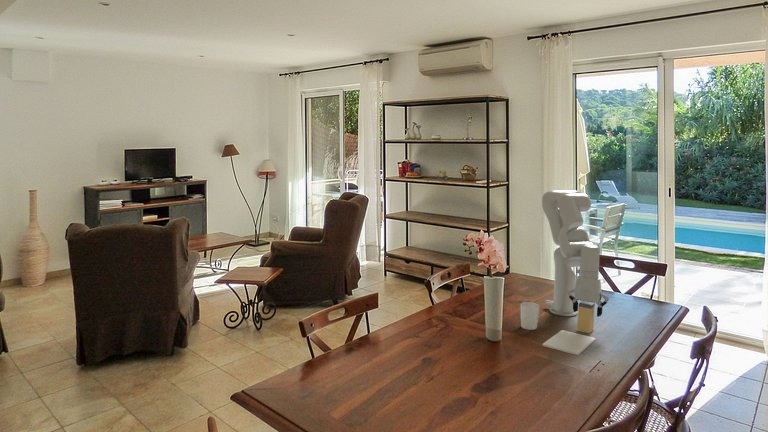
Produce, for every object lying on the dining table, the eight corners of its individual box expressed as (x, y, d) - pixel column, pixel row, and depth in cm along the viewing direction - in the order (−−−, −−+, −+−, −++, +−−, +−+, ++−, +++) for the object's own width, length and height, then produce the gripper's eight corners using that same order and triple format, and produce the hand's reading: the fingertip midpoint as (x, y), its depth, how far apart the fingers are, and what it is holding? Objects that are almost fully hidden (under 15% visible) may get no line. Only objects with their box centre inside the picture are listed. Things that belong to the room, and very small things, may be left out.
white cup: (536, 324, 227) (537, 302, 225) (540, 330, 219) (541, 308, 217) (518, 323, 227) (519, 301, 226) (521, 330, 220) (522, 307, 218)
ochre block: (577, 330, 219) (578, 303, 217) (581, 327, 223) (582, 300, 221) (589, 333, 216) (590, 306, 214) (593, 330, 220) (594, 303, 218)
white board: (542, 345, 203) (542, 343, 203) (561, 331, 218) (562, 329, 218) (577, 355, 194) (578, 353, 194) (595, 339, 209) (595, 338, 209)
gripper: (565, 272, 218) (563, 311, 220) (607, 278, 207) (605, 319, 209) (571, 269, 224) (570, 307, 226) (613, 275, 213) (611, 315, 215)
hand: (587, 313), depth 217 cm, fingers open, 9 cm apart
